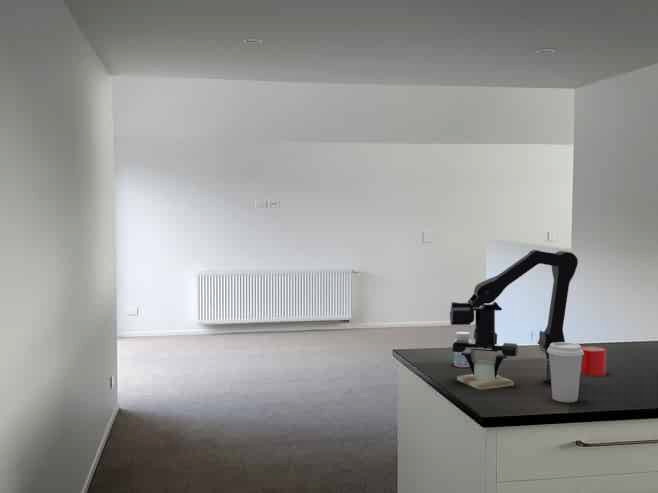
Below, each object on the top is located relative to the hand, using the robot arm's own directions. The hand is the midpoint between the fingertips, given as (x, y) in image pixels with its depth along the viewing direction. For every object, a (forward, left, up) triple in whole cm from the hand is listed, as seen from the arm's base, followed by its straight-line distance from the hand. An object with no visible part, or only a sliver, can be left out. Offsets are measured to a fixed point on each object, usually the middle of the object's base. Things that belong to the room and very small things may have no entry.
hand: (484, 376), depth 196 cm
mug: (-2, -37, -2) cm, 37 cm away
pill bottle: (+21, -6, -2) cm, 22 cm away
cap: (0, 0, -1) cm, 1 cm away
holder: (0, 0, -2) cm, 2 cm away
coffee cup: (-23, -10, -2) cm, 25 cm away
